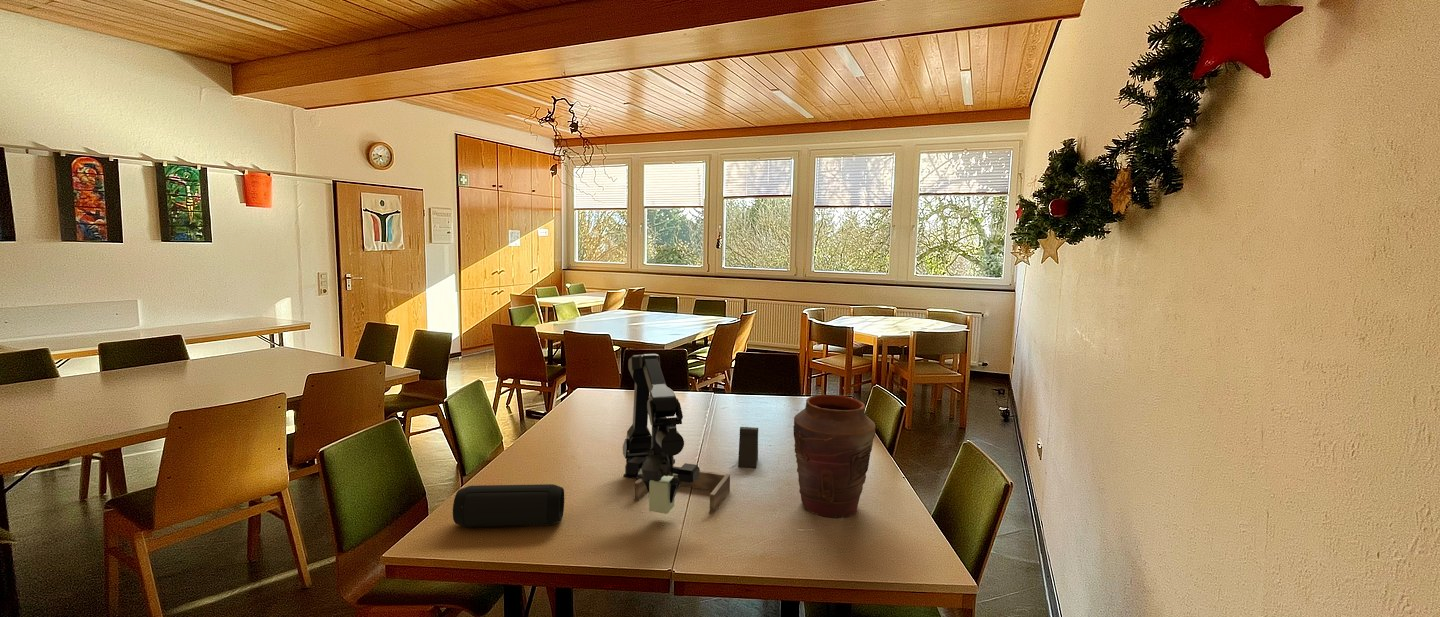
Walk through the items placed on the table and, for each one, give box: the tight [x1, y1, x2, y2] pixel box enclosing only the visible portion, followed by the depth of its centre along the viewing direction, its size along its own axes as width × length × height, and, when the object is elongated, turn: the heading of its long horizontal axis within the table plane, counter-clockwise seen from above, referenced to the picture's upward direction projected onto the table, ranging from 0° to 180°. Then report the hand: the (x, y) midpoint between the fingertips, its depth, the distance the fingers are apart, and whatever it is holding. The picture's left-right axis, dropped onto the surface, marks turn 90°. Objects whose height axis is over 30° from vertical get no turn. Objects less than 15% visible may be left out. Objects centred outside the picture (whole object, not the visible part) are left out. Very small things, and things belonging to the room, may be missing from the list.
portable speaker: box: [452, 483, 565, 528], centre depth 150 cm, size 26×10×10 cm, turn 96°
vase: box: [793, 394, 876, 519], centre depth 163 cm, size 23×22×30 cm
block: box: [648, 476, 675, 515], centre depth 154 cm, size 5×5×8 cm
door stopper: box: [737, 426, 759, 469], centre depth 197 cm, size 9×6×12 cm, turn 172°
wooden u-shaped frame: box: [633, 470, 731, 514], centre depth 170 cm, size 23×15×5 cm, turn 73°
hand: (661, 500), depth 155 cm, fingers closed on block, 5 cm apart
